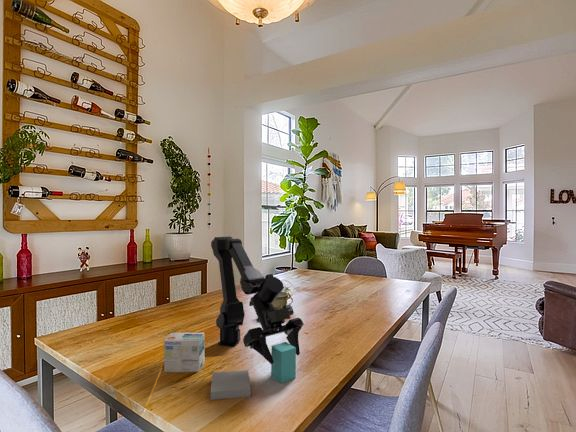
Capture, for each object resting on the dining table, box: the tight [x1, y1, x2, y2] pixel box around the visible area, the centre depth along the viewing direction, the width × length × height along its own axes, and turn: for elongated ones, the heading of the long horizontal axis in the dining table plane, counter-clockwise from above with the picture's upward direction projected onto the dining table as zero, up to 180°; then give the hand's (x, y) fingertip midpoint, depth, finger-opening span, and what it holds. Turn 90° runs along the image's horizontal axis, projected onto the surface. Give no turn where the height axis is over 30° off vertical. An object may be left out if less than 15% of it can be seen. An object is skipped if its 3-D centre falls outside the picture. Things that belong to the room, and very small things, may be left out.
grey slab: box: [209, 369, 251, 401], centre depth 89 cm, size 10×10×2 cm
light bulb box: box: [163, 331, 205, 373], centre depth 100 cm, size 11×7×11 cm, turn 92°
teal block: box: [270, 341, 297, 384], centre depth 94 cm, size 5×5×10 cm
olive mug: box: [272, 291, 294, 310], centre depth 152 cm, size 13×10×10 cm
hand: (286, 359), depth 93 cm, fingers open, 9 cm apart
